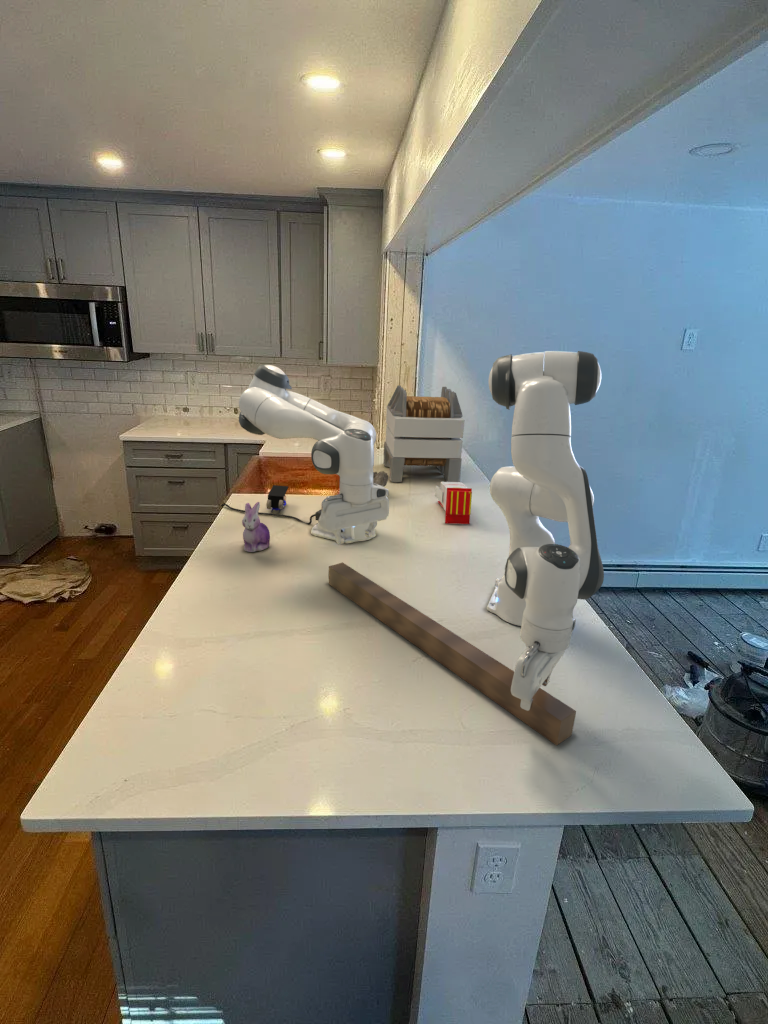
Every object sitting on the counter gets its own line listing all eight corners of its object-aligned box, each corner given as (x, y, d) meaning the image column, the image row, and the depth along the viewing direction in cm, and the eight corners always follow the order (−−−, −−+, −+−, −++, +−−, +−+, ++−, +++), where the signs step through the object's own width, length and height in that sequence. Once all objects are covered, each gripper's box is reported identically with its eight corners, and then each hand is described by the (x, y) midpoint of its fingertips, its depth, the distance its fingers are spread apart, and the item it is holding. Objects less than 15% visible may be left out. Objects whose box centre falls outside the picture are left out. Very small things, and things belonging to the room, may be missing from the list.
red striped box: (463, 477, 236) (476, 489, 206) (461, 509, 239) (474, 525, 209) (433, 476, 235) (443, 488, 206) (432, 508, 238) (441, 524, 209)
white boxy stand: (382, 463, 289) (386, 382, 275) (445, 464, 293) (451, 384, 279) (390, 482, 257) (394, 392, 243) (460, 483, 261) (468, 394, 247)
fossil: (357, 477, 248) (384, 458, 243) (370, 494, 251) (397, 476, 246) (349, 498, 228) (379, 478, 223) (364, 515, 231) (393, 496, 226)
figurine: (246, 555, 177) (244, 510, 172) (238, 543, 186) (236, 499, 181) (275, 550, 181) (274, 506, 176) (266, 539, 190) (265, 496, 185)
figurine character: (284, 518, 213) (289, 501, 226) (283, 500, 209) (288, 484, 223) (266, 517, 212) (272, 500, 226) (265, 499, 209) (271, 483, 223)
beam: (328, 584, 162) (328, 566, 160) (342, 579, 164) (342, 562, 163) (556, 745, 105) (561, 721, 103) (571, 735, 108) (576, 710, 106)
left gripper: (328, 500, 142) (327, 551, 146) (393, 489, 153) (391, 536, 158) (315, 494, 146) (315, 543, 151) (379, 483, 158) (377, 529, 163)
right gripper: (542, 663, 94) (531, 731, 99) (578, 616, 111) (567, 676, 115) (507, 650, 98) (497, 716, 102) (547, 606, 114) (537, 665, 118)
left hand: (354, 539), depth 155 cm, fingers open, 8 cm apart
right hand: (534, 695), depth 109 cm, fingers open, 8 cm apart
